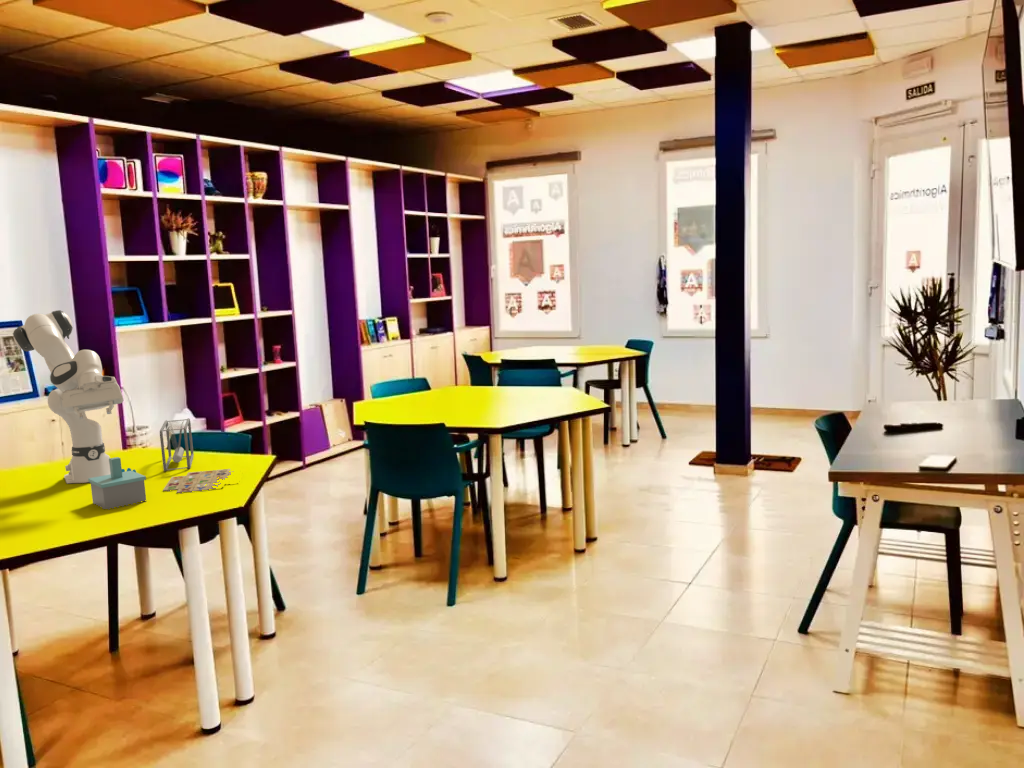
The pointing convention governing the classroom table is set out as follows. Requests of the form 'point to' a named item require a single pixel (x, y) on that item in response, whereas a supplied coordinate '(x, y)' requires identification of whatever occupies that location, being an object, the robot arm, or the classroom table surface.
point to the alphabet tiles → (196, 481)
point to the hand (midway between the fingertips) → (95, 415)
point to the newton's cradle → (179, 450)
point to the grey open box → (118, 494)
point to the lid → (116, 475)
